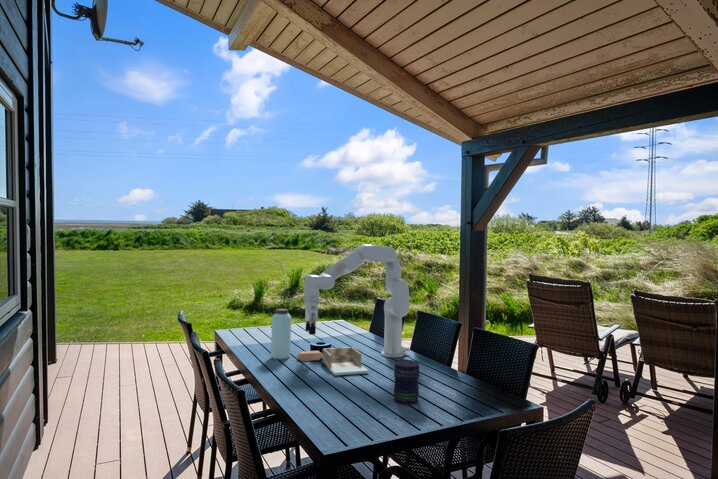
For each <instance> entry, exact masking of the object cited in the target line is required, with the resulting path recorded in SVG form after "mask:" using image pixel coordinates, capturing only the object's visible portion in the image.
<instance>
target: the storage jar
mask: <svg viewBox="0 0 718 479" xmlns="http://www.w3.org/2000/svg"><path fill="white" fill-rule="evenodd" d="M401 358H405V355H404V356H402V357H401ZM393 371H394V373H393V376H394V386H393V401H394V402H395V404H398V405H400V406H414V405H418V403H419V396H420V393H419V392H420V391H419V378H420V362H419V361H417V360H413V359H398V360H395V361H394V369H393Z"/></svg>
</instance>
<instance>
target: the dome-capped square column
mask: <svg viewBox="0 0 718 479" xmlns="http://www.w3.org/2000/svg"><path fill="white" fill-rule="evenodd" d="M296 358H297V360H299V361H300V362H306V361H307V362H308V361H310V362H311V361H320V360H322V358H323V352H320V350H306V351H299V353H298V354H297V356H296Z"/></svg>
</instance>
